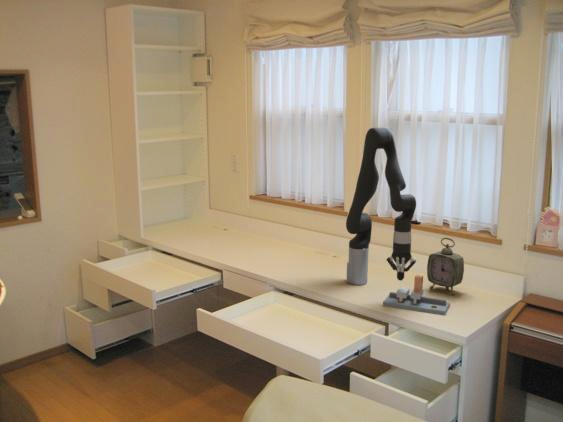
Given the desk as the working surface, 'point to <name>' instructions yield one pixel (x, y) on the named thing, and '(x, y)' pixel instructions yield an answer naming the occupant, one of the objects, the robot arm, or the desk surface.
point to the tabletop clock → (445, 268)
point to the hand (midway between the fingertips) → (400, 280)
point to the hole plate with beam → (424, 304)
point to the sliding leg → (417, 289)
